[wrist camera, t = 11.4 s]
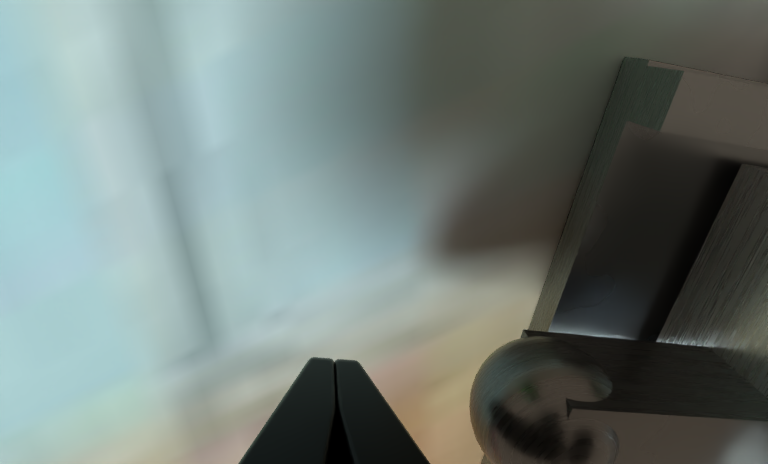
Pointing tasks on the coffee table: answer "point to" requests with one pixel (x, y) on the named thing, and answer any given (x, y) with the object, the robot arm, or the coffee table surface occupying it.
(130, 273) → the coffee table surface
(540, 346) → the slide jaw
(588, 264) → the vise body
